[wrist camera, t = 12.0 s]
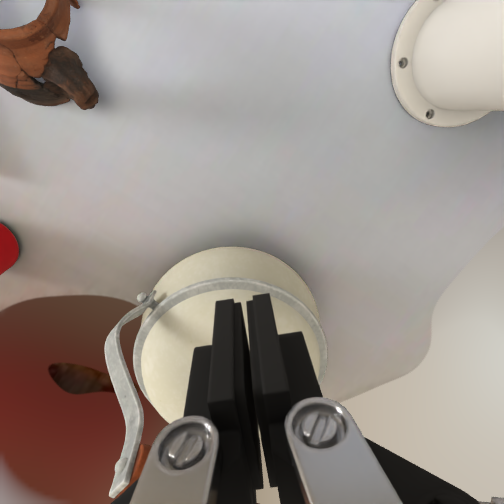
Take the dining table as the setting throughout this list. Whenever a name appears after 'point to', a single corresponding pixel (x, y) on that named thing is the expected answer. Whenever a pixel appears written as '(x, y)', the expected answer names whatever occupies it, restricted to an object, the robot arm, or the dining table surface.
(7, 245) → the beverage can
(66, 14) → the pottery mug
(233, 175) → the dining table surface
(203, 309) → the kettle
